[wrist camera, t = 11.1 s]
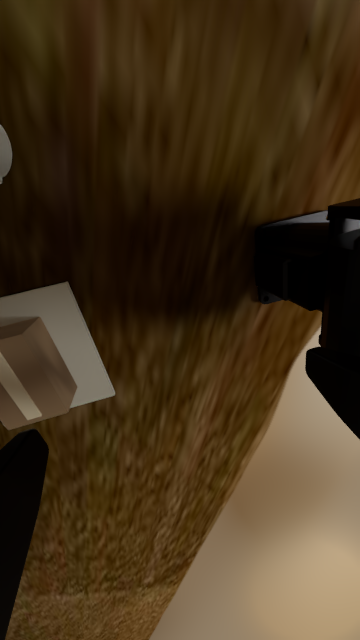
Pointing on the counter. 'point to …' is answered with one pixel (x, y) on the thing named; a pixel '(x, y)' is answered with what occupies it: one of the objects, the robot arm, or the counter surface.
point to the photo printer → (4, 154)
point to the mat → (63, 336)
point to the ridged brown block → (32, 375)
